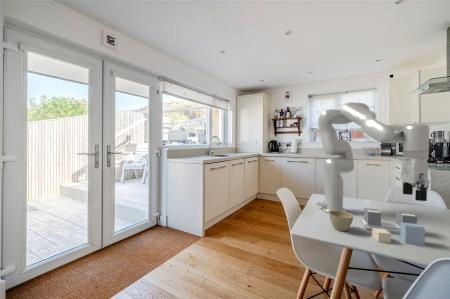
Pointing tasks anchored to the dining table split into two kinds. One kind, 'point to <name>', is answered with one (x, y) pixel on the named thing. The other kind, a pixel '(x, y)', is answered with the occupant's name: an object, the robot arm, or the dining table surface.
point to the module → (412, 233)
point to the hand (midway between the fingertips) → (413, 197)
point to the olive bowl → (340, 220)
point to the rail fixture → (374, 221)
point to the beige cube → (381, 235)
